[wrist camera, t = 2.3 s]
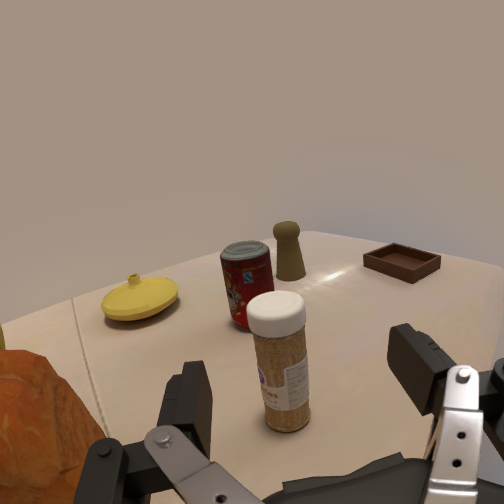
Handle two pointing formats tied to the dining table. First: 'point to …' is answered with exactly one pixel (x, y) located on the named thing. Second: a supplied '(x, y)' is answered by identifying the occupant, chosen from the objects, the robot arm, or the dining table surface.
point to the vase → (139, 298)
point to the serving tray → (402, 262)
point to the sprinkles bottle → (281, 357)
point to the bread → (40, 432)
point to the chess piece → (288, 252)
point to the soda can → (246, 276)
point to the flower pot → (1, 339)
